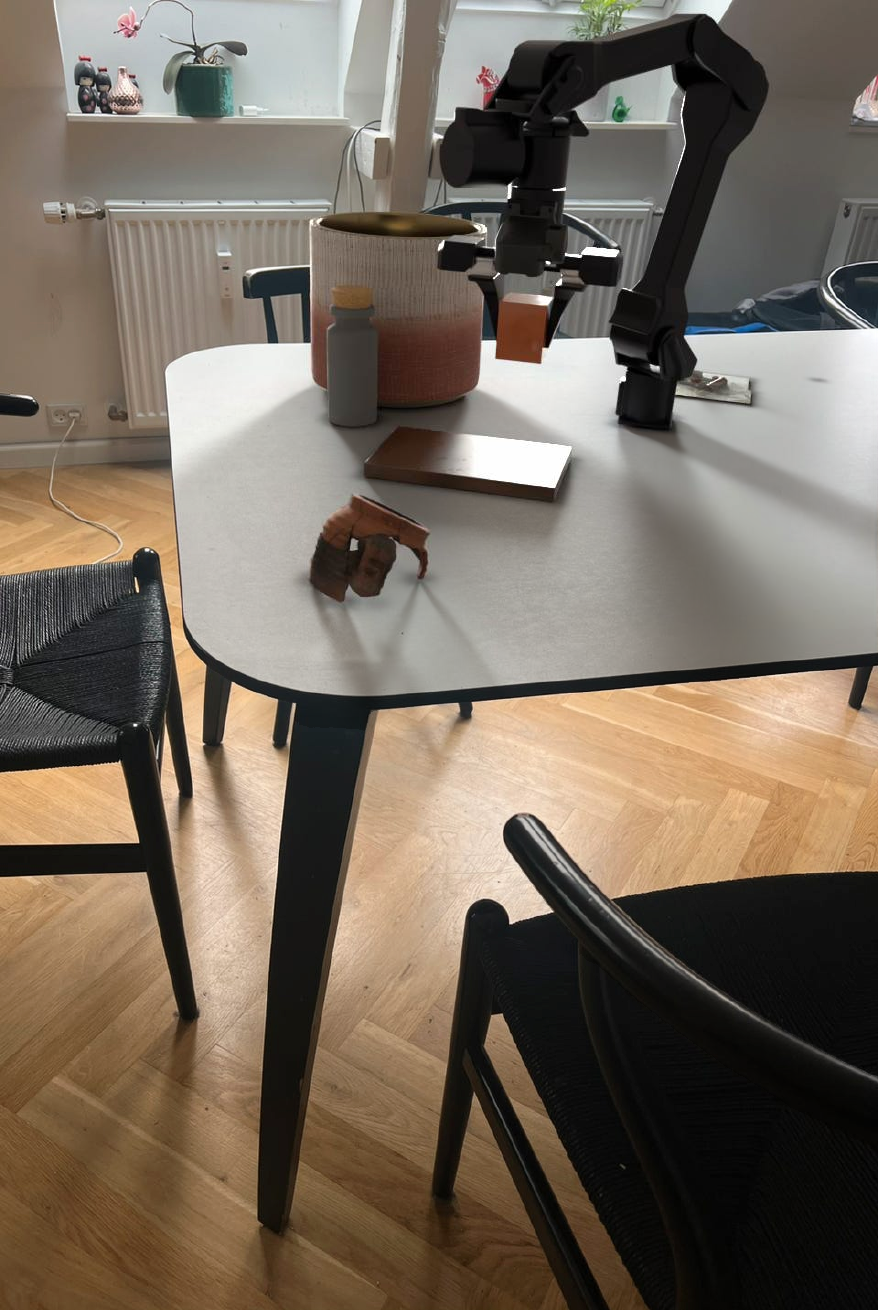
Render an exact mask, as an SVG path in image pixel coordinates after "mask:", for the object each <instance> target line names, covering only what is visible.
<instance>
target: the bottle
mask: <svg viewBox="0 0 878 1310" xmlns="http://www.w3.org/2000/svg"><path fill="white" fill-rule="evenodd" d="M331 291H332V296H333V301H334V303H333V304H331V305H330V314H331V315H332V316H334V317H335V323H334V324H332V325H331V326H329V327H328V329H327V383H328V392H327V418H328V421H329V422H331V423H332V424H334V425H337V426H341V427H348V428H349V427H350V428H357V427H366V426H370V425H373V424H374V423H376V422H377V419H378V418H377V417H378V406H377V366H378V332H377V329H376V328H375V327H374V326H373V325H371V324H370V318H371V317H373V316H374V315H375V307H374V306H373V305H372V304H371V300H372V295H373V289H371V288H368V287H364V286H356V285H344V286H336V287H333V288H332V289H331Z"/></svg>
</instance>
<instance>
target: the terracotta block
mask: <svg viewBox="0 0 878 1310" xmlns="http://www.w3.org/2000/svg"><path fill="white" fill-rule="evenodd" d="M553 299H554V296H548V295H547V296H546V295H537V294H527V293H519V292H508V293H506V295H504V297H503V298H502V299H501V300H500V303H499V316H498V328H497V341H496V340H495V354H494V355H495V356H494V359H495V360H501V361H509V362H510V361H511V362H518V363H527V364H534V365H535V364H537V365H541V364H542V363H543V362H544V361H545V358H546V357H547V356H548V354H549V349H550V347H549V348H545V342H546V331H547V327H548V322H549V318H550V313H551V308H552V304H553Z"/></svg>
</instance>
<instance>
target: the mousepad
mask: <svg viewBox="0 0 878 1310" xmlns="http://www.w3.org/2000/svg"><path fill="white" fill-rule="evenodd" d="M818 380H819V378H818ZM749 382H750V378H749V377H741V376H733V375H725V374H724V375H723V374H716V373H706V372H703V371H700V370H695V369H694V371H693V373H692V376H691V377H688V378H685V379H684V381H678V382H677V388H676V394H675V396H684V397H693V398H701V399H709V400H718V401H724V402H725V401H726V402H734V403H741V404H751V397H752V396H751V395H752V390H751V389H750V390H749V385H750V384H749Z"/></svg>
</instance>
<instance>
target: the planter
mask: <svg viewBox="0 0 878 1310" xmlns="http://www.w3.org/2000/svg"><path fill="white" fill-rule="evenodd" d="M454 235H458V236H469V237H480V238H485V243H486V246H487V243H488V229H487V227H485V225H483V224H481V223H478V222H475V221H472V220H469V219H463V218H459V217H453V216H446V215H441V214H439V215H438V214H431V213H421V212H419V213H418V212H404V211H351V212H350V211H349V212H336V213H330V214H324V215H321V216H317V217H315V218H312V219H311V220H310V221H309V275H310V277H309V279H310V280H309V281H310V286H309V287H310V289H309V291H310V370H311V377H312V380H313V382H314V383H315V384H316V385H317V386H318V387H319V388H321V389H322V390H323V391H325V392H326V393H328V383H327V329H328V327H329V326H331V325H332V324H334V323H335V317H334V316H332V315H331V314H330V305H331V304H333V303H334V301H333V296H332V291H331V289H332V288H333V287H336V286H344V285H356V286H364V287H368V288H371V289H373V295H372V300H371V304H372V305H373V306H374V307H375V315H374V316H373V317H371V318H370V324H371V325H373V326H374V327H375V328H376V329H377V332H378V366H377V407H378V408H379V407H381V408H392V409H393V408H396V409H398V408H400V409H401V408H402V409H407V408H408V409H409V408H414V409H415V408H423V407H433V406H440V405H444V404H448V403H452V402H454V401H457V400H459V399H461V398H463V397H465V396H466V395H468V394H470V393H471V392H473V390H475V389H476V388H477V386H478V384H479V380H480V375H481V362H482V361H481V360H482V359H481V356H482V340H483V339H482V338H483V320H484V319H483V316H484V299H485V298H484V295H483V293H482V291H481V289H480V288H479V286H478V285H477V283H476V282H472V281H469V280H468V275H469V274H470V268H469V269H468V270H467V271H466V272H456V271H446V270H439V269H437V260H438V250H439V246H440V245H441V244H442V243H443V242H444V241H445V240H447V239H448V238H450V237H452V236H454Z"/></svg>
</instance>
